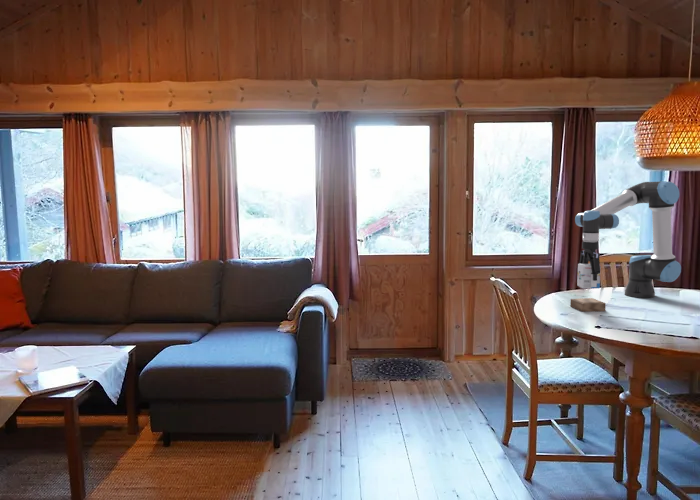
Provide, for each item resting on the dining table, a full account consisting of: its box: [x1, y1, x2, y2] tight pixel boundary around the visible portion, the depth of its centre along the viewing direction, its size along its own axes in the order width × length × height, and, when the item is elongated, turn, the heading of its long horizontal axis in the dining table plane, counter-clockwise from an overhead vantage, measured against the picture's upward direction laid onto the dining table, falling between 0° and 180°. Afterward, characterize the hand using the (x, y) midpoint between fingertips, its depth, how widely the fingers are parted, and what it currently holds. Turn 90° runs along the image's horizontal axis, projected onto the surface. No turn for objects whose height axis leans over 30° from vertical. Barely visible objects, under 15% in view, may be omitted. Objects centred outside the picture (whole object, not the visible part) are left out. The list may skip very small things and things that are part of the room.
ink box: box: [576, 263, 601, 289], centre depth 263 cm, size 8×8×12 cm
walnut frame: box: [569, 297, 606, 313], centre depth 265 cm, size 12×12×4 cm
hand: (588, 285), depth 264 cm, fingers closed on ink box, 9 cm apart
